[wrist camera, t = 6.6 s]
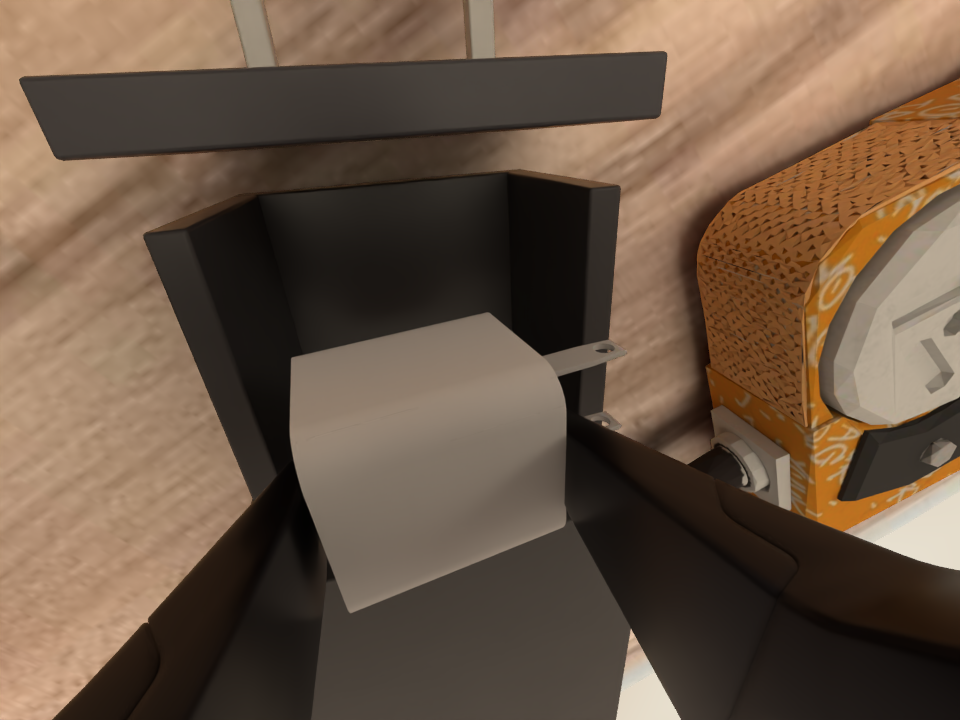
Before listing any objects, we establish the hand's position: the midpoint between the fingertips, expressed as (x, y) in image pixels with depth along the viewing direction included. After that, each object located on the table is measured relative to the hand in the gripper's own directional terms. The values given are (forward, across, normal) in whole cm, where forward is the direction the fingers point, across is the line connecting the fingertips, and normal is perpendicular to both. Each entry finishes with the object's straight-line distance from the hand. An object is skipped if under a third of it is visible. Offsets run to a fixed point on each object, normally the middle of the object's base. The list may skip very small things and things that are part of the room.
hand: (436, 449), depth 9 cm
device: (+11, -24, +5) cm, 27 cm away
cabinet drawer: (+10, 0, -2) cm, 10 cm away
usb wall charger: (+3, -1, 0) cm, 3 cm away
